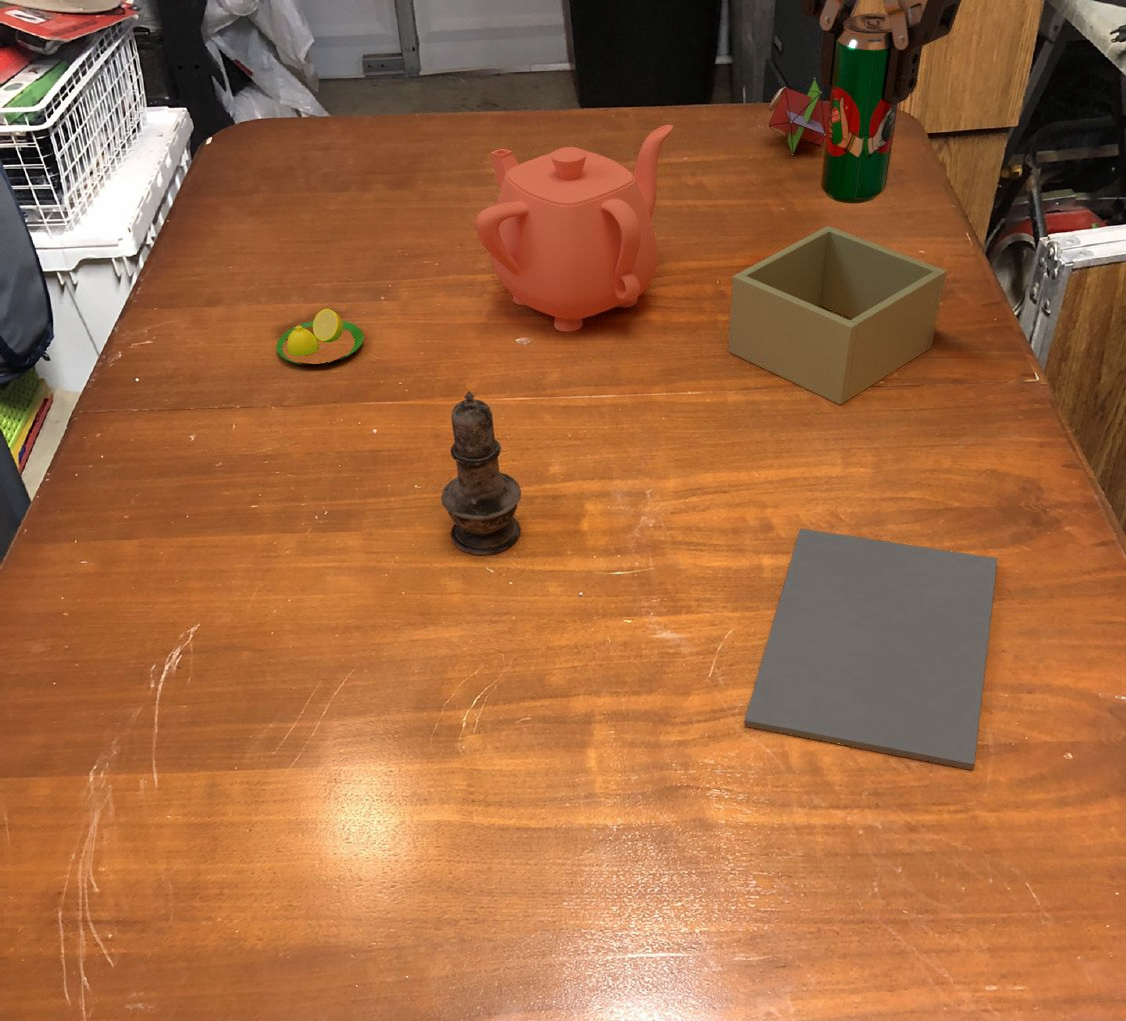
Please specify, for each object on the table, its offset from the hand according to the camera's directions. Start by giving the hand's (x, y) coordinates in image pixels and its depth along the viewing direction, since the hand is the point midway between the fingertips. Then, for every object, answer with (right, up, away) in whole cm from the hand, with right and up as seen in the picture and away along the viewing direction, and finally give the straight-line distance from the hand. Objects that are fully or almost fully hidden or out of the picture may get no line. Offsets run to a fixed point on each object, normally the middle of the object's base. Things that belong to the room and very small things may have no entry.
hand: (864, 91), depth 88 cm
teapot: (-21, -6, +25) cm, 33 cm away
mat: (-1, -42, -9) cm, 43 cm away
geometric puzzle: (+4, +19, +45) cm, 49 cm away
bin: (+1, -14, +16) cm, 21 cm away
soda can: (0, -5, +6) cm, 8 cm away
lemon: (-45, -12, +20) cm, 51 cm away
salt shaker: (-28, -33, +1) cm, 44 cm away
